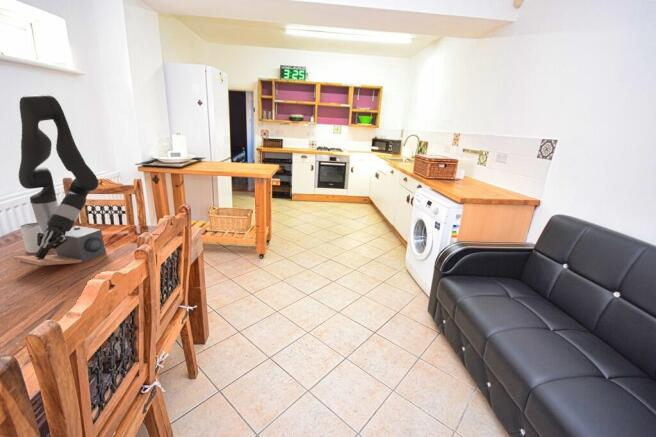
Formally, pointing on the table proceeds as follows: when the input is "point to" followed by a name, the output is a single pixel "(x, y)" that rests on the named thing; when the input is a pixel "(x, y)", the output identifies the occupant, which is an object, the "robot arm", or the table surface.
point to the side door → (46, 260)
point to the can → (30, 236)
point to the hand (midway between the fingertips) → (39, 258)
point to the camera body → (82, 244)
